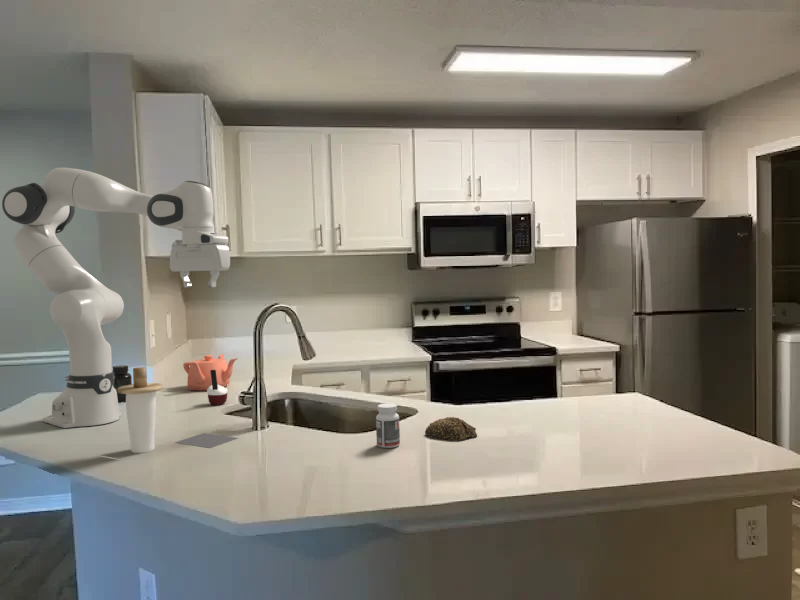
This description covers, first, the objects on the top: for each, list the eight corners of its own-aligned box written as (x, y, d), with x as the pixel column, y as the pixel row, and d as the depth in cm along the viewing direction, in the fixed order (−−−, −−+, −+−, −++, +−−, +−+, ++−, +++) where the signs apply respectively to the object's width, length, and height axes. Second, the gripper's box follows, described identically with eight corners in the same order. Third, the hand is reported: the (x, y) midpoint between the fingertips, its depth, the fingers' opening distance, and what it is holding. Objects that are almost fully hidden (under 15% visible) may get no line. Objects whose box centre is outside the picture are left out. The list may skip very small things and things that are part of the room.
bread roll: (418, 436, 162) (418, 417, 161) (448, 427, 171) (448, 409, 170) (457, 445, 153) (457, 424, 153) (486, 435, 162) (486, 416, 162)
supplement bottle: (118, 398, 217) (116, 364, 216) (136, 399, 216) (135, 364, 215) (106, 402, 210) (105, 367, 209) (125, 403, 209) (123, 367, 208)
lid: (108, 392, 148) (107, 370, 148) (143, 385, 157) (143, 364, 157) (136, 395, 143) (136, 372, 143) (171, 388, 152) (170, 366, 152)
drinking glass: (147, 456, 147) (144, 393, 146) (121, 454, 148) (119, 392, 147) (163, 448, 153) (161, 387, 153) (138, 447, 155) (136, 387, 154)
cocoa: (217, 402, 210) (216, 366, 210) (233, 402, 208) (232, 366, 208) (199, 407, 201) (198, 369, 201) (216, 407, 199) (215, 369, 199)
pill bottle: (403, 443, 154) (402, 403, 154) (395, 449, 149) (394, 408, 148) (381, 441, 156) (380, 402, 156) (373, 447, 151) (372, 407, 150)
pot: (240, 389, 232) (239, 355, 232) (192, 394, 223) (192, 359, 222) (224, 382, 248) (223, 351, 247) (179, 387, 238) (178, 354, 238)
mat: (174, 444, 157) (174, 442, 157) (203, 434, 166) (203, 433, 166) (210, 449, 151) (210, 447, 151) (238, 439, 160) (238, 437, 160)
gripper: (163, 239, 179) (165, 287, 179) (216, 236, 169) (218, 287, 170) (180, 240, 184) (181, 287, 185) (233, 237, 175) (234, 286, 176)
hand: (199, 287), depth 177 cm, fingers open, 8 cm apart
